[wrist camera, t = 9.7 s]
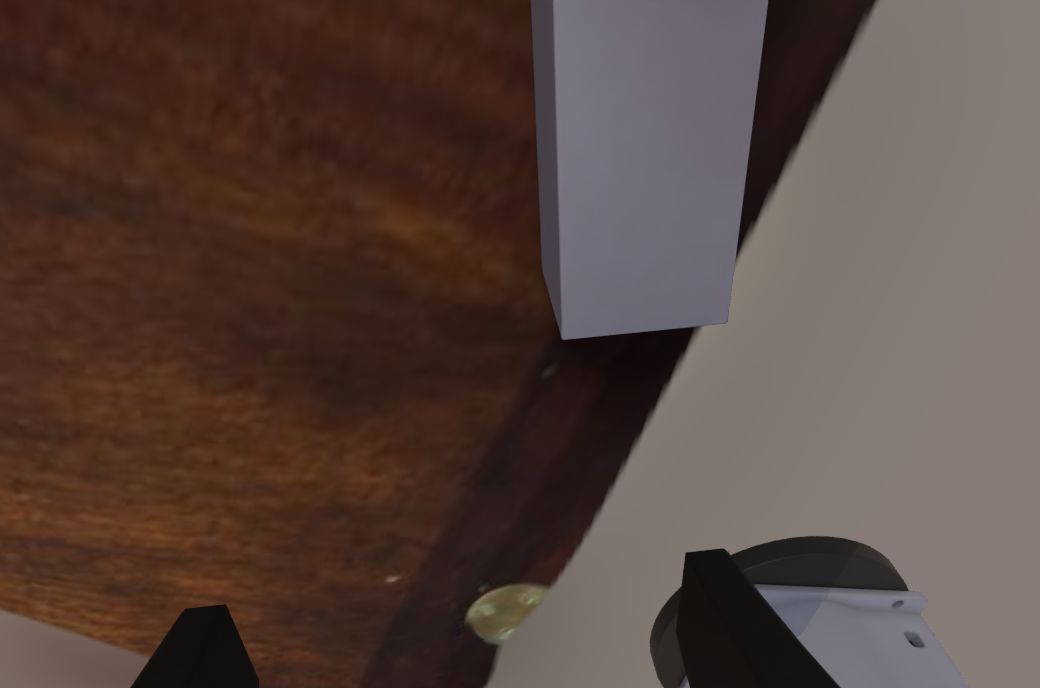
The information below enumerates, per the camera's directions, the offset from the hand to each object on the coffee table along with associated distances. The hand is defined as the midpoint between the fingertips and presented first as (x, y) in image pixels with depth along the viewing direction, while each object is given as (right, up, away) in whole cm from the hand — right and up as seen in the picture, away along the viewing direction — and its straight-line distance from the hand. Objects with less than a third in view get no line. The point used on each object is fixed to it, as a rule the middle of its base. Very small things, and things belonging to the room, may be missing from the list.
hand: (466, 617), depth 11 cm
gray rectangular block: (+3, +10, +5) cm, 12 cm away
